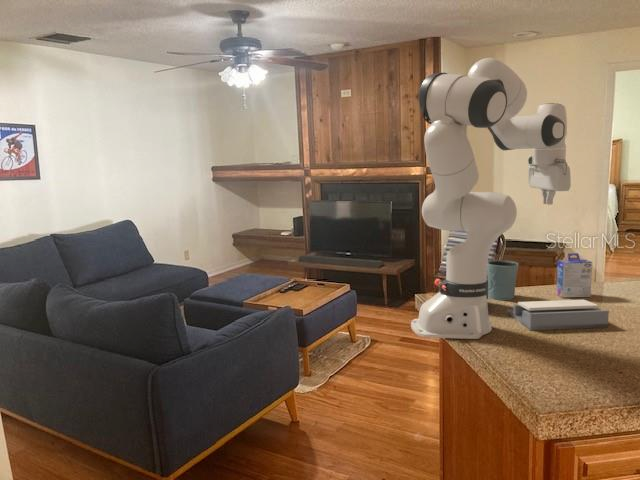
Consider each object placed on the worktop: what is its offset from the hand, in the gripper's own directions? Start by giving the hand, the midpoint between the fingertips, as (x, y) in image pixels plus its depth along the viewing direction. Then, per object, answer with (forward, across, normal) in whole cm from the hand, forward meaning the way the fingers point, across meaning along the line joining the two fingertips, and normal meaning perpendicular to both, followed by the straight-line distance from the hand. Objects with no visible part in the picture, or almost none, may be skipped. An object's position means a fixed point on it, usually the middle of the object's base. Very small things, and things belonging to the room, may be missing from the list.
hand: (547, 204), depth 156 cm
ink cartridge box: (+33, +12, -16) cm, 39 cm away
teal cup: (+33, +14, +8) cm, 37 cm away
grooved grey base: (+33, -12, +2) cm, 35 cm away
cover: (+29, -13, +2) cm, 32 cm away
